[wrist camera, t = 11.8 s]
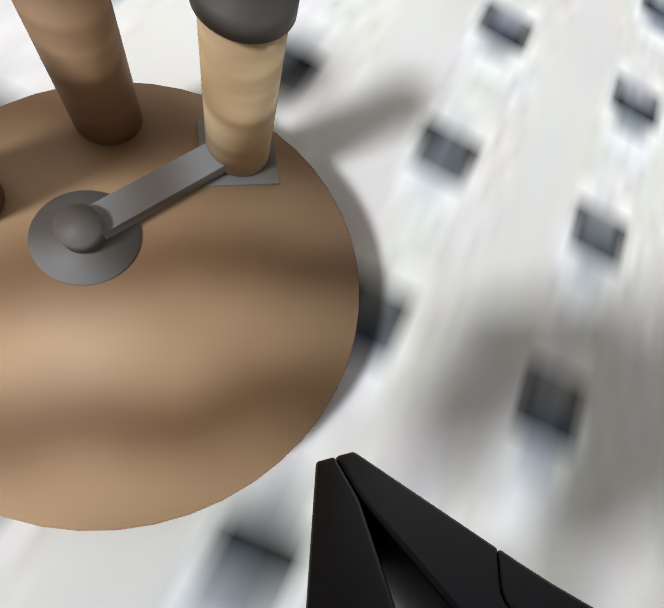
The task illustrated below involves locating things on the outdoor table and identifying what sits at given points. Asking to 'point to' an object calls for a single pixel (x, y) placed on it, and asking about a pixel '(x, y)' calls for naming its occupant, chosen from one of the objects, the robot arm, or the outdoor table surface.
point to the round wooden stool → (153, 299)
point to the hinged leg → (205, 118)
